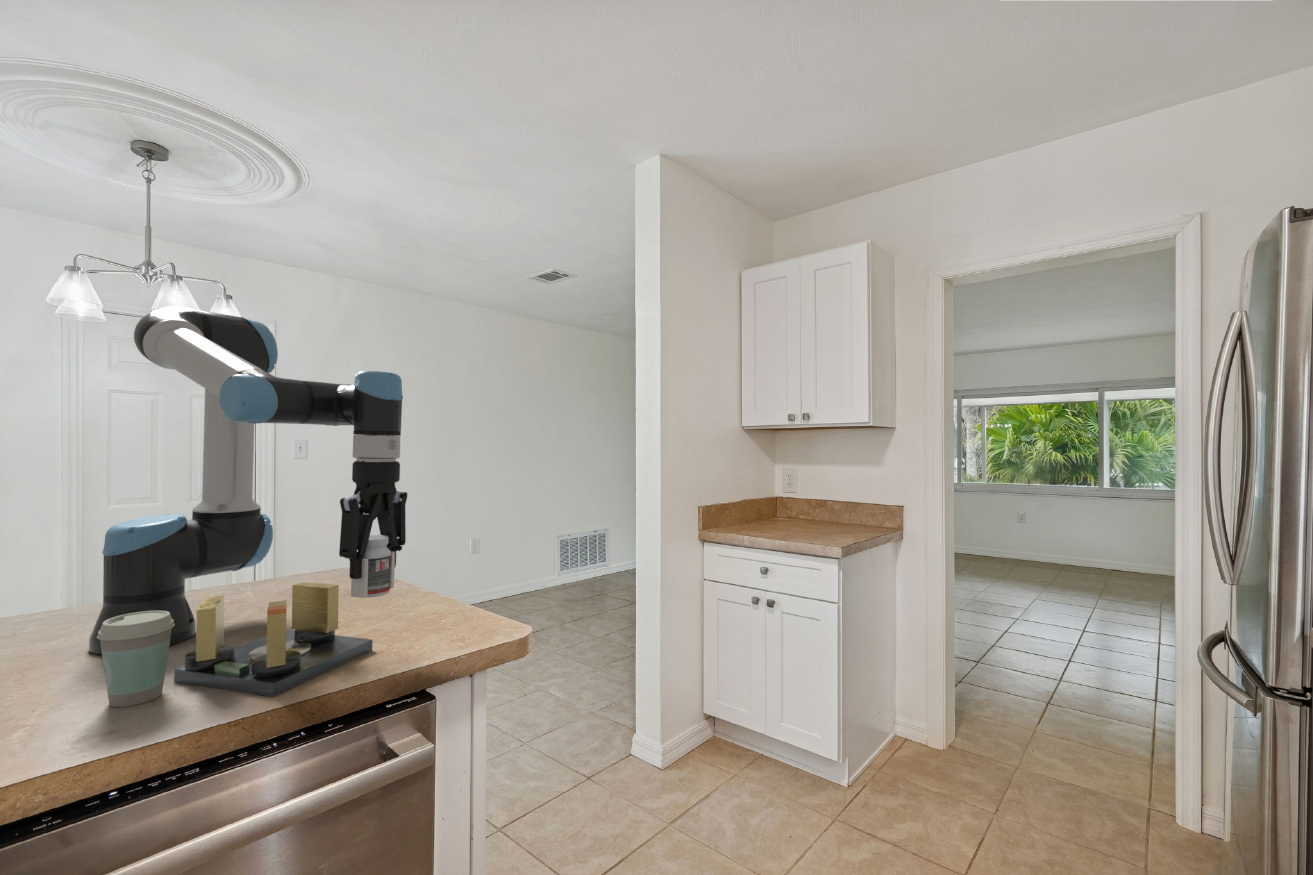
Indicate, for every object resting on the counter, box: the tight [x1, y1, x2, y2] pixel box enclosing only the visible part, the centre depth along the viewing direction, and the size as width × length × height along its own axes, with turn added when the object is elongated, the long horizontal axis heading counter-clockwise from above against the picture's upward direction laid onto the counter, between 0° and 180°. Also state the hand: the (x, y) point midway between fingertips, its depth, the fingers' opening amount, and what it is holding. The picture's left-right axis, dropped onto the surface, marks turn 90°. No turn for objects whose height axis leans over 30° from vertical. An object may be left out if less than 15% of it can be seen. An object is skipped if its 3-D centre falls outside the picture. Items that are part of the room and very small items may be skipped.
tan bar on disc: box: [252, 599, 300, 679], centre depth 91 cm, size 8×6×11 cm
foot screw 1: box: [184, 595, 235, 672], centre depth 93 cm, size 8×6×10 cm
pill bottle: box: [357, 534, 391, 598], centre depth 100 cm, size 6×6×10 cm
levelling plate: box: [173, 628, 373, 698], centre depth 98 cm, size 20×20×3 cm
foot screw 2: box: [291, 581, 340, 645], centre depth 105 cm, size 8×6×10 cm
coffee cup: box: [97, 611, 175, 708], centre depth 85 cm, size 9×8×12 cm
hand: (373, 591), depth 100 cm, fingers closed on pill bottle, 6 cm apart
